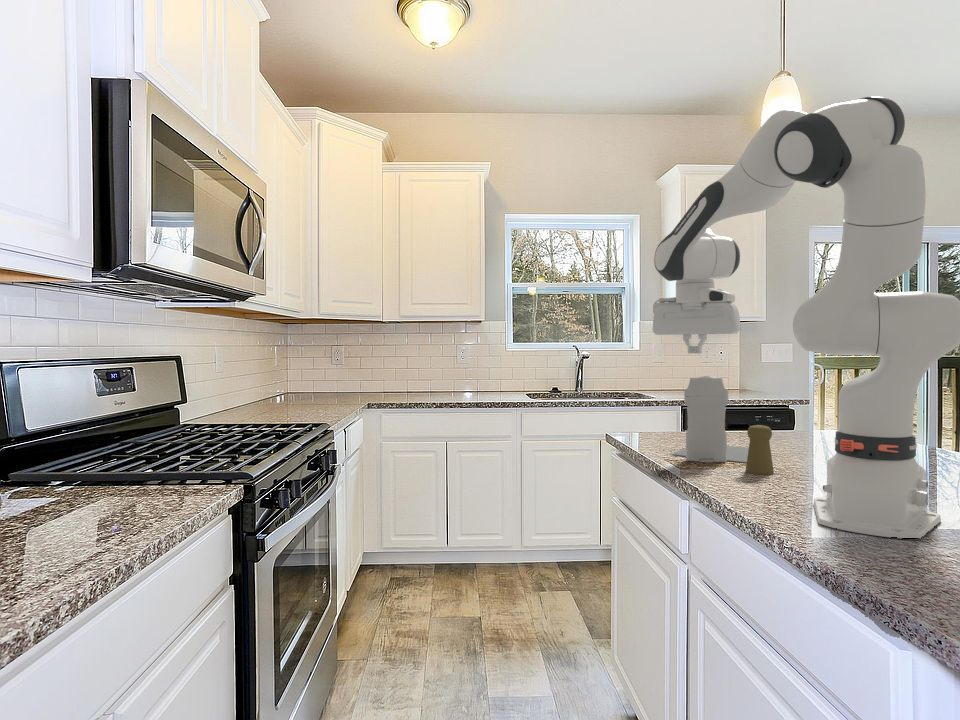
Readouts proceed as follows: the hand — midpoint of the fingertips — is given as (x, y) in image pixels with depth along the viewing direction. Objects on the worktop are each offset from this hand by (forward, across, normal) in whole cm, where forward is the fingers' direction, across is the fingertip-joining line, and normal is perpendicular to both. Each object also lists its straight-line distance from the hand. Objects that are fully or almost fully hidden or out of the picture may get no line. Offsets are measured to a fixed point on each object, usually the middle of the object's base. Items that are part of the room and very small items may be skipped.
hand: (694, 353), depth 145 cm
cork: (+28, +14, +3) cm, 32 cm away
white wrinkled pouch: (+28, 0, +9) cm, 29 cm away
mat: (+28, 0, +23) cm, 36 cm away
